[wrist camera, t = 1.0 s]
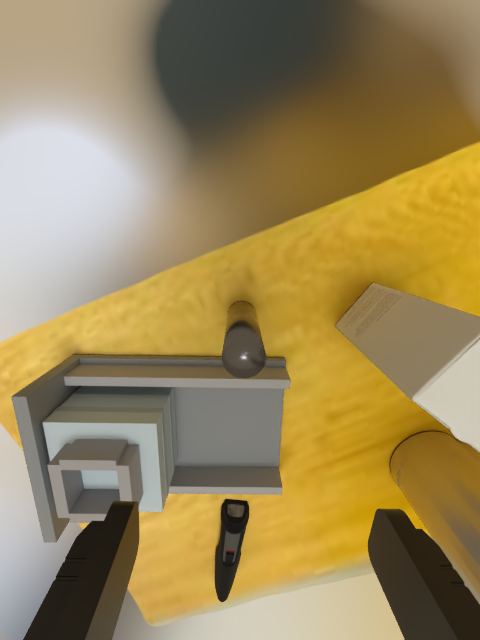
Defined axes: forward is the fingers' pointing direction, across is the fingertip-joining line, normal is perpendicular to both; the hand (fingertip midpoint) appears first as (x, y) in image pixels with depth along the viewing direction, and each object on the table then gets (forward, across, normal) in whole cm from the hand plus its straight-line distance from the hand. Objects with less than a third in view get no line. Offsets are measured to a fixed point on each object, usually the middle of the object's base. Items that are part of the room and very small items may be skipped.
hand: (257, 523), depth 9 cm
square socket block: (+22, +12, +12) cm, 27 cm away
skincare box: (+22, -15, -1) cm, 27 cm away
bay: (+23, +6, +12) cm, 26 cm away
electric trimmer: (+23, -1, +32) cm, 39 cm away
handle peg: (+22, 0, -2) cm, 22 cm away
